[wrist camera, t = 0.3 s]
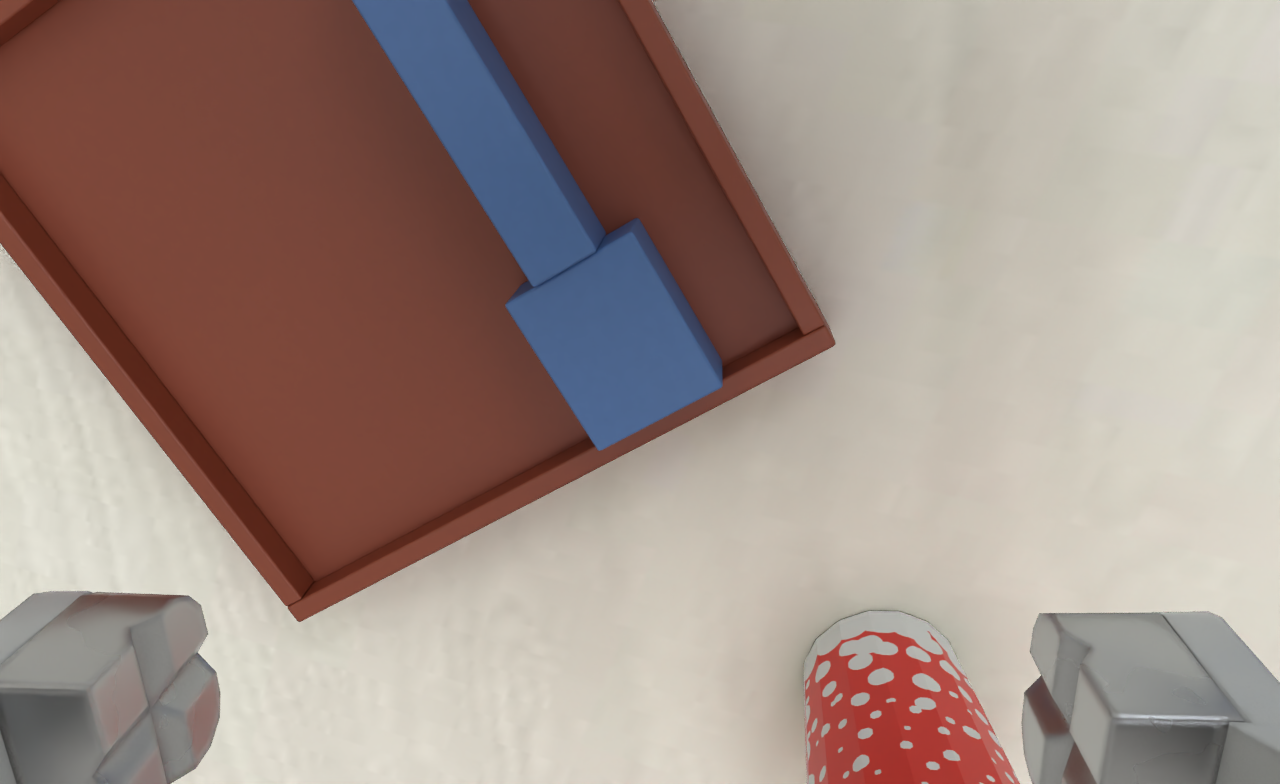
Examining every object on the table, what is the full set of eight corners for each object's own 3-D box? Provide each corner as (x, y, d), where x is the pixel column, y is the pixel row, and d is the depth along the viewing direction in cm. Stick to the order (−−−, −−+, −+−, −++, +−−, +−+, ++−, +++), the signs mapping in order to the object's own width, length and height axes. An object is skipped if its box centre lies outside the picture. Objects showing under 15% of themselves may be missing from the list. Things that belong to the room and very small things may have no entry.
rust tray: (-75, 83, 25) (-125, 86, 24) (467, -338, 21) (448, -366, 19) (319, 594, 29) (298, 623, 28) (830, 327, 25) (836, 345, 24)
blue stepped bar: (312, -40, 23) (272, -49, 21) (436, -130, 22) (407, -148, 20) (607, 423, 26) (597, 456, 24) (723, 362, 25) (723, 390, 23)
